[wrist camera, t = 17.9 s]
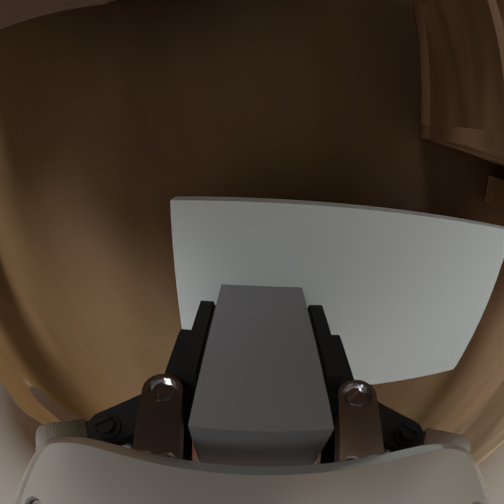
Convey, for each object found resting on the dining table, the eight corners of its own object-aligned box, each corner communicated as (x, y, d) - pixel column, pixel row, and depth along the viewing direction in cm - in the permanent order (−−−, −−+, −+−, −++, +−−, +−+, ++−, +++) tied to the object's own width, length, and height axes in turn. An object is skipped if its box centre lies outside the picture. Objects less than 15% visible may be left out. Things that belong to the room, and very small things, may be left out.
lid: (196, 362, 16) (167, 487, 8) (183, 191, 12) (60, 288, 4) (443, 352, 16) (492, 437, 8) (491, 220, 12) (589, 284, 4)
